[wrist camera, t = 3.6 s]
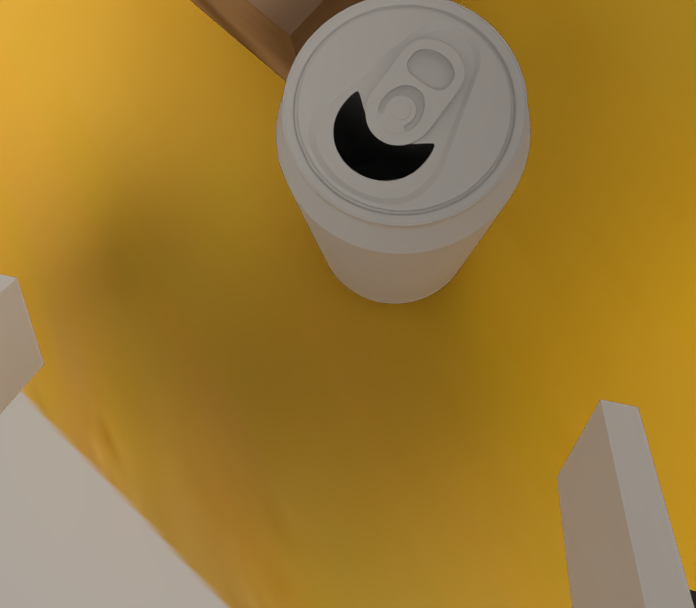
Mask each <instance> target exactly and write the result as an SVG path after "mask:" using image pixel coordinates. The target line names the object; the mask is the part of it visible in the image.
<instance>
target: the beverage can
mask: <svg viewBox="0 0 696 608" xmlns="http://www.w3.org/2000/svg"><path fill="white" fill-rule="evenodd" d="M530 134H531V129H530V116H529V109H528V102H527V92H526V86H525V81H524V77H523V74H522V71H521V68H520V66H519V64H518V61H517V59H516V57H515V55H514V54H513V52H512V50H511V48H510V47H509V45H508V44H507V42H506V41H505V40H504V38H503V37H502V36H501V35H500V34H499V33H498V32H497V30H496V29H495V28H494V27H493V26H492V25H490V24H489V23H488V22H487V21H486V20H484V19H483V18H482V17H480V16H479V15H478V14H476V13H475V12H473V11H471V10H469V9H468V8H466V7H464V6H462V5H460V4H458V3H455V2H452V1H450V0H365V1H362V2H359V3H357V4H355V5H352V6H350V7H348V8H346V9H345V10H343V11H341V12H339V13H338V14H336V15H335V16H333V17H332V18H330V19H329V20H328V21H327V22H325V23H324V24H323V25H322V26H321V27H320V28H319V29H318V30H317V31H316V32H314V34H313V35H312V36H311V37H310V38H309V39H308V40H307V42H306V43H305V44H304V46H303V47H302V49H301V50H300V52H299V53H298V55H297V57H296V58H295V61H294V63H293V65H292V67H291V69H290V72H289V74H288V77H287V80H286V84H285V89H284V93H283V97H282V100H281V103H280V107H279V112H278V116H277V127H276V144H277V152H278V159H279V163H280V166H281V169H282V171H283V174H284V176H285V179H286V181H287V183H288V186H289V188H290V190H291V192H292V194H293V196H294V198H295V200H296V202H297V204H298V206H299V208H300V210H301V212H302V214H303V216H304V218H305V220H306V222H307V224H308V226H309V228H310V230H311V232H312V234H313V236H314V238H315V240H316V242H317V244H318V246H319V248H320V250H321V252H322V254H323V256H324V258H325V260H326V262H327V264H328V266H329V268H330V269H331V271H332V272H333V273H334V275H335V276H336V277H337V278H338V279H339V281H340V282H341V283H343V284H344V285H345V286H346V287H347V288H349V289H350V290H351V291H353V292H355V293H356V294H358V295H360V296H362V297H364V298H367V299H369V300H372V301H376V302H381V303H389V304H402V303H409V302H414V301H417V300H420V299H423V298H426V297H428V296H430V295H432V294H434V293H435V292H437V291H438V290H440V289H441V288H442V287H444V286H445V285H446V284H447V283H448V282H449V281H450V280H451V279H452V278H453V277H454V276H455V275H456V273H457V272H458V271H459V269H460V268H461V266H462V265H463V264H464V262H465V261H466V259H467V258H468V257H469V255H470V254H471V252H472V251H473V249H474V248H475V247H476V245H477V244H478V242H479V241H480V240H481V238H482V237H483V235H484V234H485V232H486V231H487V230H488V228H489V227H490V225H491V224H492V223H493V221H494V220H495V218H496V217H497V216H498V214H499V213H500V211H501V210H502V208H503V207H504V206H505V204H506V203H507V201H508V200H509V198H510V197H511V195H512V194H513V192H514V190H515V188H516V186H517V185H518V183H519V180H520V178H521V176H522V174H523V171H524V168H525V165H526V161H527V157H528V153H529V146H530Z"/></svg>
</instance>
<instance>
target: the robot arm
mask: <svg viewBox="0 0 696 608" xmlns="http://www.w3.org/2000/svg"><path fill="white" fill-rule="evenodd" d="M43 365H44V361H43V358H42V355H41V352H40V349H39V345H38V342H37V339H36V336H35V333H34V330H33V326H32V323H31V320H30V317H29V314H28V311H27V307H26V304H25V301H24V298H23V295H22V291H21V288H20V285H19V282H18V279H17V278H15V277H10V276H6V275H1V274H0V414H1V412H2V411H3V410H4V409H5V408H6V407H7V406H8V405H9V403H10V402H11V401H12V400H13V399H14V398H15V397H16V395H17V394H18V393H19V392H20V391H21V390H22V389H23V388H24V387H25V385H26V384H27V383H28V382H29V381H30V380H31V379H32V377H33V376H34V375H35V374H36V373H37V372H38V371H39V370H40V368H41V367H42V366H43ZM557 482H558V490H559V499H560V507H561V516H562V524H563V533H564V542H565V550H566V559H567V567H568V576H569V584H570V593H571V601H572V608H696V591H692V590H689V587H688V583H687V580H686V576H685V573H684V569H683V566H682V562H681V558H680V555H679V551H678V548H677V544H676V541H675V537H674V534H673V530H672V526H671V523H670V519H669V516H668V512H667V509H666V505H665V502H664V498H663V494H662V491H661V487H660V484H659V480H658V477H657V473H656V470H655V466H654V463H653V459H652V455H651V452H650V448H649V445H648V441H647V438H646V434H645V431H644V427H643V423H642V420H641V416H640V413H639V409H638V407H634V406H630V405H625V404H620V403H615V402H610V401H606V400H600V401H599V403H598V405H597V407H596V408H595V410H594V412H593V414H592V416H591V417H590V419H589V421H588V423H587V425H586V426H585V428H584V430H583V432H582V434H581V435H580V437H579V439H578V441H577V442H576V444H575V446H574V448H573V450H572V451H571V453H570V455H569V457H568V459H567V460H566V462H565V464H564V466H563V468H562V469H561V471H560V473H559V475H558V476H557Z"/></svg>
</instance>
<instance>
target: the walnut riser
mask: <svg viewBox="0 0 696 608" xmlns="http://www.w3.org/2000/svg"><path fill="white" fill-rule="evenodd" d="M191 1H192V2H193V3H194V4H195V5H196V6H198V7H199V8H200V9H201V10H202V11H204V12H205V13H206V14H207V15H208V16H209V17H211V18H212V19H213V20H214V21H215V22H217V23H218V24H219V25H220V26H221V27H222V28H224V29H225V30H226V31H227V32H228V33H230V34H231V35H232V36H233V37H234V38H235V39H237V40H238V41H239V42H240V43H241V44H242V45H244V46H245V47H246V48H247V49H248V50H250V51H251V52H252V53H253V54H254V55H255V56H257V57H258V58H259V59H260V60H261V61H263V62H264V63H265V64H266V65H267V66H268V67H270V68H271V69H272V70H273V71H274V72H276V73H277V74H278V75H279V76H280V77H281V78H283V79H284V80H285V81H286V80H287V77H288V74H289V72H290V69H291V67H292V65H293V63H294V61H295V58H296V57H297V55H298V53H299V52H300V50H301V49H302V47H303V46H304V44H305V43H306V42H307V40H308V39H309V38H310V37H311V36H312V35H313V34H314V32H316V31H317V30H318V29H319V28H320V27H321V26H322V25H323V24H324V23H325V22H327V21H328V20H329V19H330V18H332V17H333V16H335V15H336V14H338V13H339V12H341V11H343V10H345V9H346V8H348V7H350V6H352V5H355V4H357V3H359V2H362V1H365V0H191Z"/></svg>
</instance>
